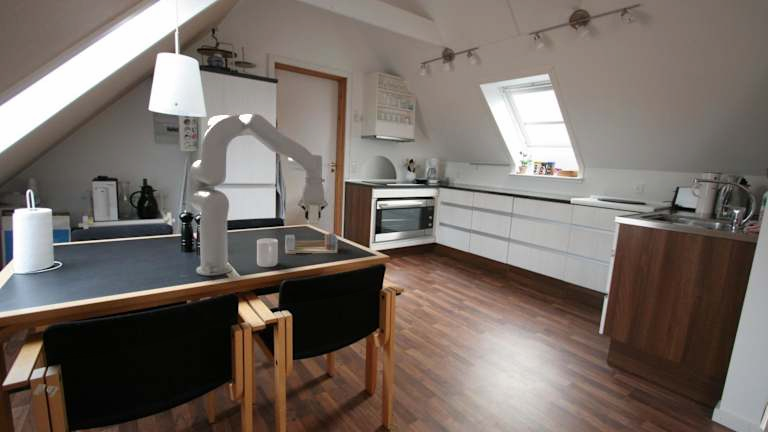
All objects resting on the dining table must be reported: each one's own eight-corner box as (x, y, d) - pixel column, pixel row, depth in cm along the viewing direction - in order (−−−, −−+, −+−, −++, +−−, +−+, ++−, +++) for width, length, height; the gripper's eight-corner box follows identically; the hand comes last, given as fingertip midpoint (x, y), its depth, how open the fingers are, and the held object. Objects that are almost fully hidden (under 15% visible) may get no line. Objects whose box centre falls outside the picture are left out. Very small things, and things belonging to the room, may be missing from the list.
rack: (337, 252, 177) (337, 236, 176) (286, 254, 170) (286, 237, 169) (333, 248, 186) (334, 232, 185) (285, 249, 178) (285, 232, 177)
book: (318, 223, 172) (318, 205, 171) (308, 224, 171) (309, 204, 169) (316, 221, 179) (316, 202, 177) (307, 221, 177) (307, 202, 176)
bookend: (294, 250, 172) (295, 237, 171) (286, 250, 171) (286, 237, 170) (293, 246, 178) (294, 234, 177) (285, 247, 177) (285, 234, 176)
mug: (281, 269, 149) (282, 244, 147) (260, 271, 145) (260, 245, 143) (275, 260, 159) (275, 237, 158) (255, 262, 155) (255, 238, 154)
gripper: (330, 181, 178) (329, 218, 181) (294, 180, 172) (293, 218, 175) (332, 182, 171) (331, 221, 174) (295, 181, 165) (295, 221, 168)
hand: (312, 219), depth 174 cm, fingers closed on book, 4 cm apart
